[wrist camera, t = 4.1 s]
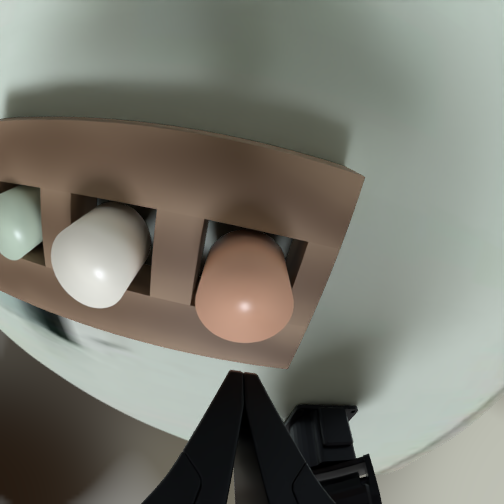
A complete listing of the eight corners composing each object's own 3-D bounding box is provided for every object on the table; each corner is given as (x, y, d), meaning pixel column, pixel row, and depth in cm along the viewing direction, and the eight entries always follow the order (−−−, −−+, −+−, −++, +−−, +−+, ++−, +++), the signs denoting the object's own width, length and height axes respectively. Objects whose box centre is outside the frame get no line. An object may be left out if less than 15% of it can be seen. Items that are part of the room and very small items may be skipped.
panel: (283, 337, 19) (287, 369, 17) (16, 269, 17) (-5, 288, 14) (344, 166, 14) (365, 176, 12) (10, 117, 12) (-20, 122, 9)
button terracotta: (273, 304, 16) (278, 349, 12) (201, 290, 15) (190, 333, 12) (295, 239, 14) (307, 275, 11) (214, 221, 14) (202, 253, 10)
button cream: (148, 278, 15) (126, 317, 12) (86, 262, 15) (56, 295, 11) (154, 209, 13) (127, 237, 10) (86, 196, 13) (47, 219, 10)
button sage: (61, 241, 16) (31, 267, 12) (21, 231, 15) (-9, 252, 12) (60, 182, 14) (24, 199, 11) (19, 176, 13) (-16, 191, 10)
